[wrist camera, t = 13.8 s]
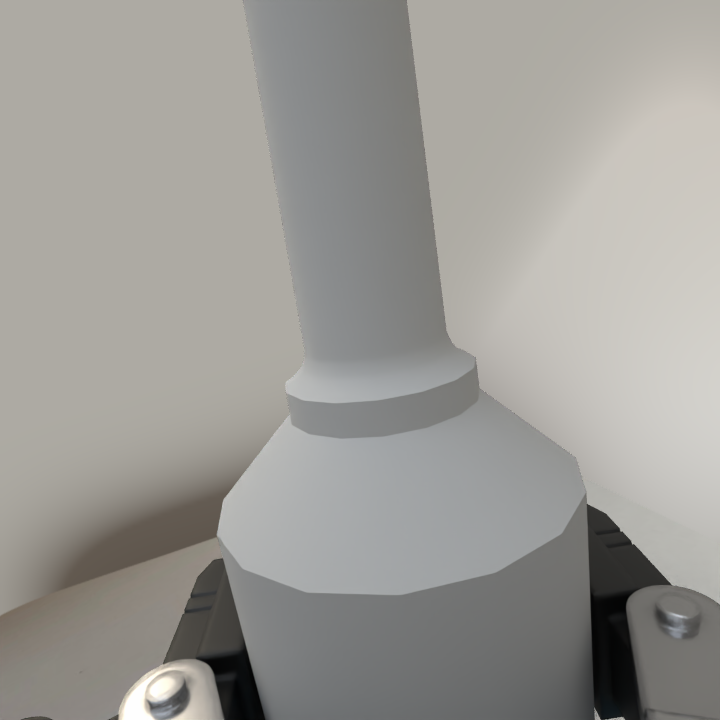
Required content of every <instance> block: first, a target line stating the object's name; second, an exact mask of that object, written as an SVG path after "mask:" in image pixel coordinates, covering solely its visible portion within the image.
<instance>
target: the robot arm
mask: <svg viewBox="0 0 720 720" xmlns="http://www.w3.org/2000/svg"><path fill="white" fill-rule="evenodd" d="M587 524H588V552H589V579H590V607H591V634H592V661H593V689H594V707H595V709H596V711H597V713H598V715H599V717H600V719H601V720H605V719H611V718H617V717H624V719H625V720H720V605H719V604H718V603H717V602H715V601H714V600H712V599H711V598H709V597H707V596H705V595H703V594H701V593H699V592H696V591H694V590H690V589H687V588H683V587H678V586H672V585H671V584H670V583H669V582H668V580H667V579H666V578H665V577H664V576H663V575H662V574H661V573H660V572H659V571H658V570H657V569H656V567H655V566H654V565H653V564H652V563H651V562H650V561H649V560H648V559H647V558H646V557H645V556H644V554H643V553H642V552H641V551H640V550H639V549H638V548H637V547H636V546H635V545H634V544H633V545H632V543H631V540H630V539H629V538H628V537H627V536H626V535H625V534H624V533H623V532H620V528H619V527H618V526H617V525H616V524H615V523H614V522H613V521H612V520H611V519H610V518H609V517H608V516H607V514H605V513H603V512H602V511H600V510H598V509H596V508H594V507H592V506H590V505H588V504H587ZM21 720H52V719H50V718H47V717H41V716H40V717H29V718H25V719H21ZM109 720H265V716H264V712H263V709H262V705H261V701H260V697H259V693H258V689H257V686H256V682H255V678H254V674H253V670H252V667H251V663H250V659H249V655H248V651H247V647H246V644H245V640H244V636H243V632H242V628H241V625H240V621H239V617H238V613H237V609H236V605H235V602H234V598H233V594H232V590H231V586H230V583H229V579H228V575H227V571H226V567H225V563H224V560H223V558H222V559H216V560H213V561H212V562H211V563H210V564H209V566H208V567H207V568H206V569H205V570H204V571H203V572H202V573H201V574H200V575H199V576H198V578H197V580H196V583H195V585H194V588H193V590H192V593H191V598H190V599H189V600H188V603H187V605H186V608H185V614H183V615H182V618H181V620H180V623H179V625H178V628H177V630H176V633H175V635H174V637H173V640H172V642H171V645H170V647H169V650H168V652H167V655H166V657H165V660H164V662H163V665H161V666H159V667H157V668H155V669H154V670H152V671H150V672H149V673H147V674H146V675H144V676H143V677H142V678H141V679H139V680H138V681H137V682H136V683H135V684H134V685H133V686H132V687H131V689H130V690H129V691H128V693H127V694H126V695H125V697H124V699H123V701H122V703H121V706H120V709H119V714H118V715H116V716H115V717H113V718H111V719H109Z"/></svg>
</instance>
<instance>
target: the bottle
mask: <svg viewBox="0 0 720 720" xmlns="http://www.w3.org/2000/svg"><path fill="white" fill-rule="evenodd" d="M243 4H244V9H245V15H246V21H247V26H248V32H249V38H250V44H251V49H252V55H253V61H254V66H255V72H256V78H257V83H258V89H259V94H260V100H261V106H262V112H263V117H264V123H265V129H266V134H267V140H268V146H269V151H270V157H271V162H272V168H273V174H274V180H275V185H276V191H277V197H278V203H279V208H280V214H281V220H282V225H283V231H284V237H285V242H286V247H287V254H288V259H289V265H290V271H291V276H292V282H293V288H294V293H295V299H296V304H297V310H298V316H299V322H300V327H301V333H302V339H303V344H304V350H305V352H304V359H303V364H302V366H301V368H300V369H299V371H298V372H297V373H296V374H295V375H294V376H293V377H292V378H291V379H290V380H288V381H287V382H286V383H285V385H286V395H287V400H288V406H289V412H290V414H289V416H288V417H287V418H286V419H285V421H284V422H283V423H282V425H281V426H280V428H279V429H278V430H277V431H276V432H275V434H274V435H273V436H272V438H271V439H270V440H269V441H268V443H267V444H266V445H265V447H264V448H263V449H262V451H261V452H260V453H259V454H258V456H257V457H256V459H255V460H254V461H253V462H252V464H251V465H250V466H249V467H248V469H247V470H246V471H245V473H244V474H243V475H242V477H241V478H240V479H239V480H238V482H237V483H236V484H235V486H234V487H233V488H232V490H231V491H230V492H229V493H228V495H227V496H226V497H225V499H224V500H223V505H222V511H221V516H220V521H219V526H218V532H217V537H218V541H219V544H220V548H221V552H222V556H223V560H224V563H225V567H226V571H227V575H228V579H229V583H230V586H231V590H232V594H233V598H234V602H235V605H236V609H237V613H238V617H239V621H240V625H241V628H242V632H243V636H244V640H245V644H246V647H247V651H248V655H249V659H250V663H251V667H252V670H253V674H254V678H255V682H256V686H257V689H258V693H259V697H260V701H261V705H262V709H263V712H264V716H265V720H595V716H594V689H593V661H592V634H591V607H590V579H589V552H588V524H587V497H586V489H585V486H584V483H583V480H582V476H581V473H580V470H579V466H578V463H577V460H576V457H574V456H573V455H572V454H570V453H569V452H567V451H566V450H565V449H563V448H562V447H561V446H559V445H558V444H556V443H555V442H554V441H552V440H551V439H549V438H548V437H547V436H545V435H544V434H542V433H541V432H540V431H538V430H537V429H536V428H534V427H533V426H531V425H530V424H529V423H527V422H526V421H524V420H523V419H521V418H520V417H519V416H517V415H516V414H515V413H513V412H512V411H511V410H509V409H508V408H506V407H505V406H503V405H502V404H501V403H499V402H498V401H497V400H495V399H494V398H492V397H491V396H490V395H488V394H487V393H486V392H484V391H483V390H481V389H480V388H479V381H478V373H477V365H476V357H474V356H472V355H471V354H469V353H467V352H466V351H464V350H461V349H459V348H456V347H455V346H454V345H453V343H452V342H451V340H450V338H449V336H448V334H447V331H446V323H445V316H444V306H443V299H442V291H441V282H440V274H439V266H438V257H437V248H436V240H435V232H434V223H433V215H432V207H431V199H430V190H429V182H428V174H427V166H426V158H425V149H424V141H423V132H422V125H421V116H420V107H419V99H418V91H417V82H416V74H415V66H414V58H413V49H412V41H411V33H410V24H409V16H408V8H407V0H243Z"/></svg>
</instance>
